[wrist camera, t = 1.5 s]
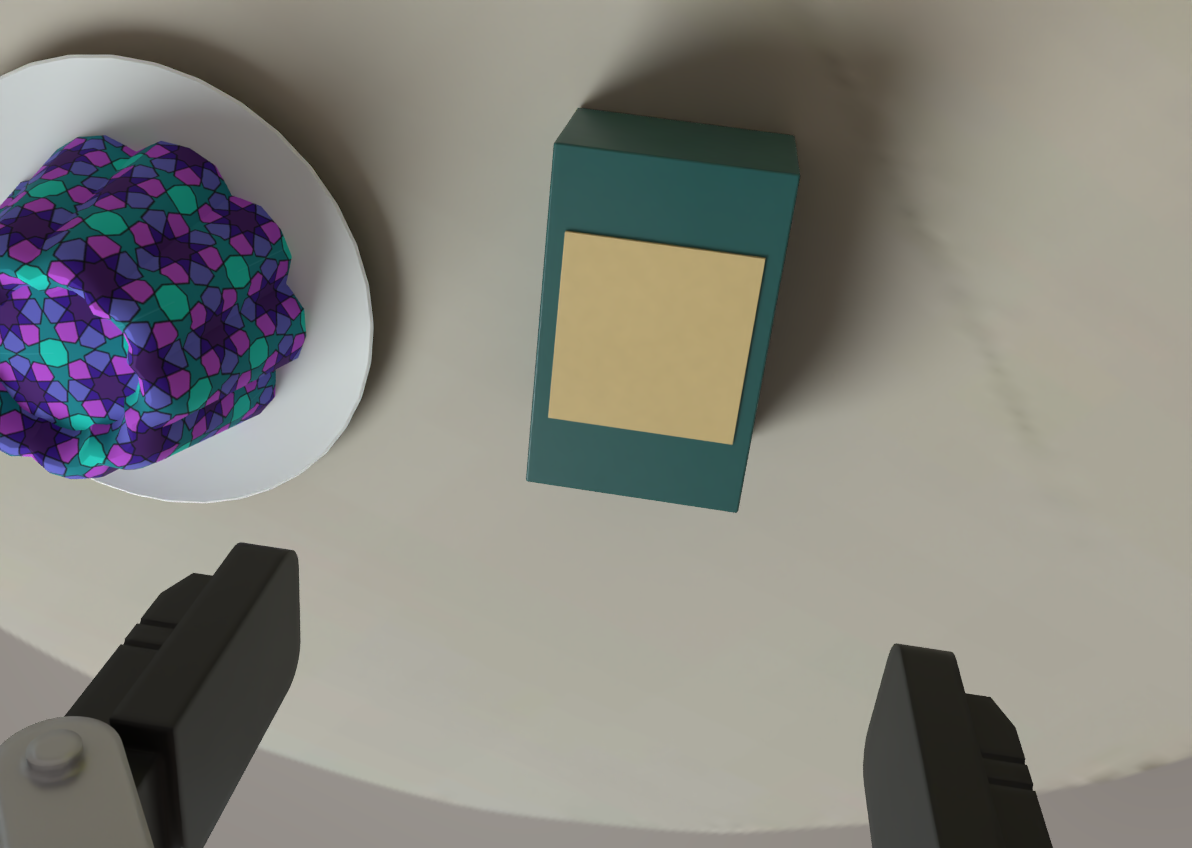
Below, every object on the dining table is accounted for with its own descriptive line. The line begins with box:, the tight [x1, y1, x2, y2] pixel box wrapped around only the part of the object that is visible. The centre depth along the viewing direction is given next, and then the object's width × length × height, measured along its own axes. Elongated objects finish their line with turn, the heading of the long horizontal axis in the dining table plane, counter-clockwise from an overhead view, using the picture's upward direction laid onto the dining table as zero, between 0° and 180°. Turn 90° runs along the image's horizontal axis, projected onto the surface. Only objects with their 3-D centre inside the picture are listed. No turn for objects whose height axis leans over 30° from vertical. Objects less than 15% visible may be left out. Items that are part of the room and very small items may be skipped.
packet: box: [526, 108, 800, 513], centre depth 26 cm, size 5×8×4 cm, turn 174°
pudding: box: [0, 55, 374, 503], centre depth 27 cm, size 12×12×5 cm
